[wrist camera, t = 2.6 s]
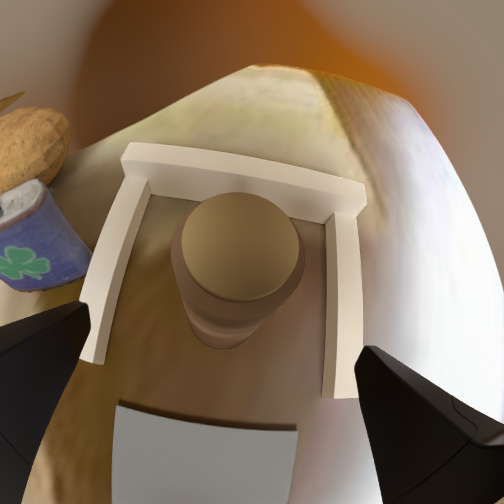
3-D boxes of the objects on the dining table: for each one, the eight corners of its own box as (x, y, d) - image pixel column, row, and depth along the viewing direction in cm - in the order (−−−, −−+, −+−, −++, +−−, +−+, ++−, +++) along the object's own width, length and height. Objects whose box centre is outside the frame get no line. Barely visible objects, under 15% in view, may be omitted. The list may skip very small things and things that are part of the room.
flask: (96, 247, 19) (35, 148, 9) (96, 282, 17) (20, 195, 8) (11, 265, 16) (-62, 196, 7) (9, 297, 15) (-75, 237, 6)
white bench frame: (346, 396, 17) (377, 398, 13) (79, 357, 15) (51, 350, 11) (344, 210, 24) (364, 183, 20) (137, 174, 22) (130, 141, 18)
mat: (275, 552, 10) (276, 555, 9) (115, 532, 9) (114, 534, 8) (296, 430, 15) (298, 431, 15) (118, 404, 14) (116, 405, 14)
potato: (17, 146, 22) (-5, 100, 15) (99, 145, 23) (82, 82, 16) (-22, 211, 17) (-56, 167, 10) (57, 225, 19) (15, 163, 12)
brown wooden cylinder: (205, 359, 17) (201, 336, 7) (179, 299, 18) (151, 205, 8) (264, 333, 18) (335, 275, 8) (237, 277, 19) (270, 171, 10)
